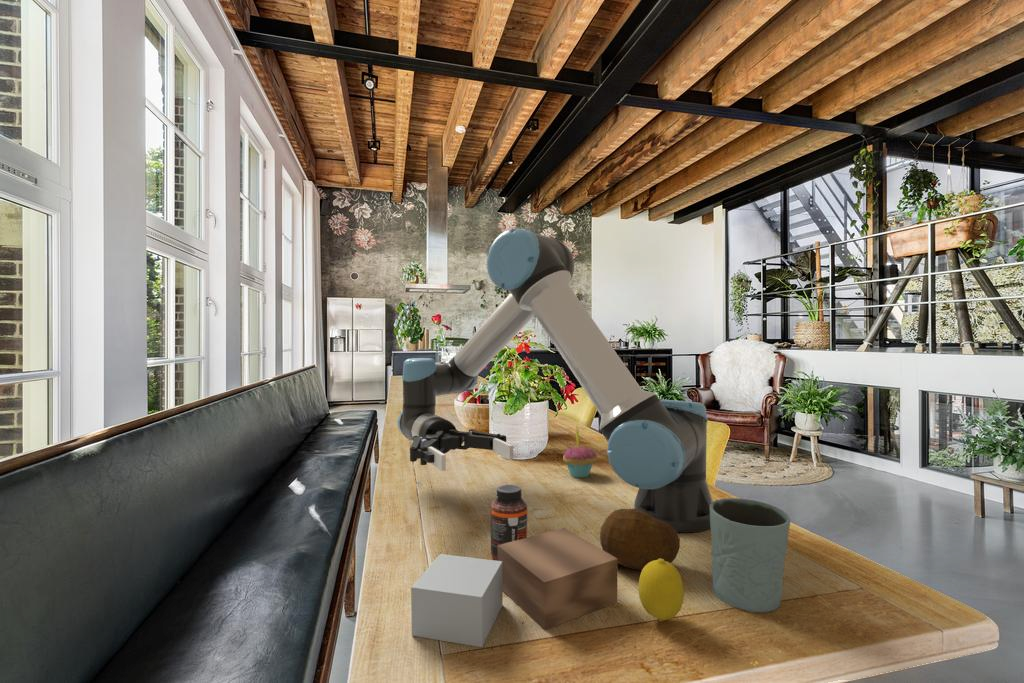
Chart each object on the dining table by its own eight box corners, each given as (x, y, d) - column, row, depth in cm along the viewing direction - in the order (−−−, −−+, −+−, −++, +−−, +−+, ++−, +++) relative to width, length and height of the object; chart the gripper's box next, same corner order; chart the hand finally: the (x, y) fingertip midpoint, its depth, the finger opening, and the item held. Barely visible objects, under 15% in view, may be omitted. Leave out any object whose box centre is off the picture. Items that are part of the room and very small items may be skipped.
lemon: (674, 607, 66) (674, 548, 66) (690, 633, 60) (691, 569, 60) (633, 608, 66) (633, 549, 65) (645, 635, 60) (646, 570, 60)
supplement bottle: (523, 567, 77) (523, 495, 77) (486, 563, 78) (486, 493, 78) (530, 550, 83) (529, 483, 83) (495, 547, 84) (495, 481, 84)
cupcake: (557, 471, 127) (557, 425, 127) (587, 468, 130) (587, 423, 129) (571, 481, 119) (571, 432, 119) (603, 478, 122) (603, 429, 121)
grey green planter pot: (728, 570, 76) (729, 493, 75) (800, 597, 68) (802, 511, 68) (695, 594, 69) (695, 509, 69) (771, 627, 62) (772, 532, 61)
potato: (671, 588, 71) (671, 528, 70) (591, 569, 76) (591, 513, 76) (680, 563, 78) (681, 508, 78) (607, 547, 84) (607, 496, 84)
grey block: (502, 605, 67) (502, 561, 66) (482, 647, 58) (481, 597, 58) (440, 596, 69) (440, 553, 69) (411, 635, 60) (411, 587, 60)
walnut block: (564, 565, 78) (564, 527, 77) (617, 602, 67) (617, 558, 67) (497, 586, 71) (497, 545, 71) (544, 630, 61) (544, 582, 61)
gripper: (485, 444, 114) (536, 468, 95) (377, 458, 101) (412, 489, 83) (485, 411, 113) (537, 429, 95) (377, 422, 101) (412, 445, 82)
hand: (478, 457), depth 89 cm, fingers open, 13 cm apart
